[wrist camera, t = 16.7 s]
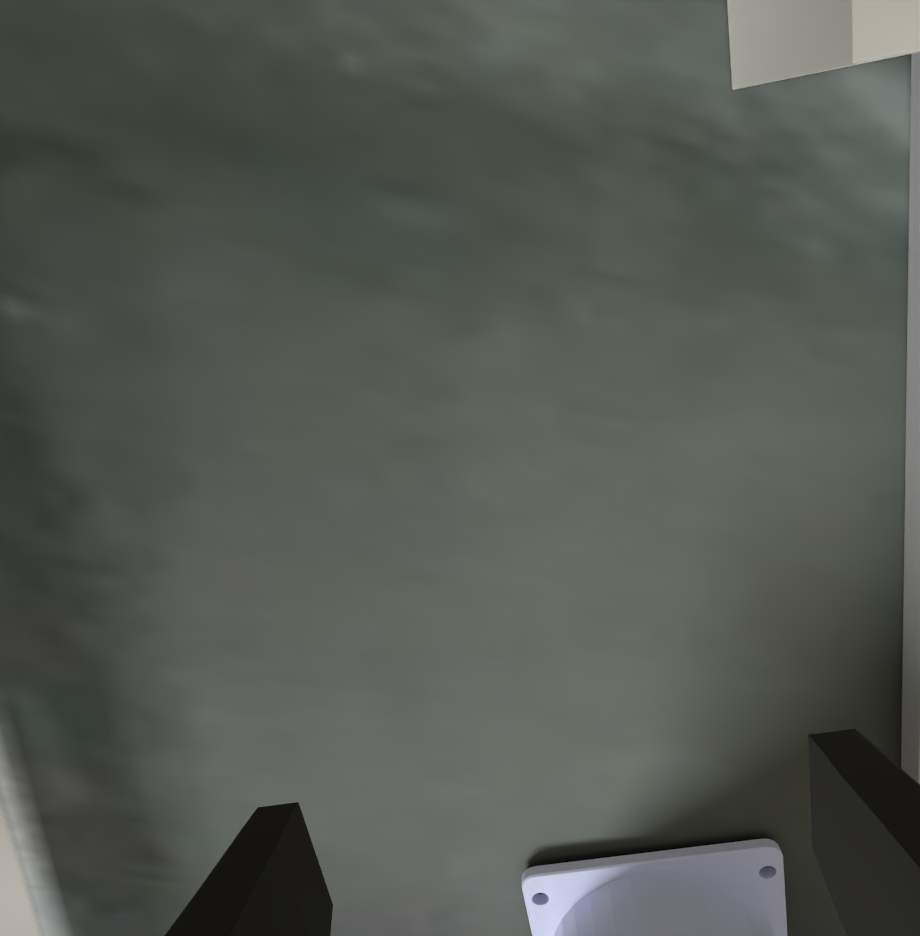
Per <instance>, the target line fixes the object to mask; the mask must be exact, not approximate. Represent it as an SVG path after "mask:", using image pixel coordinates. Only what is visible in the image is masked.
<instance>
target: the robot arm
mask: <svg viewBox="0 0 920 936" xmlns="http://www.w3.org/2000/svg"><path fill="white" fill-rule="evenodd" d="M809 760H810V787H811V813H812V840H813V849H814V852H815V855H816V857H817V860H818V863H819V865H820V868H821V871H822V873H823V876H824V879H825V881H826V884H827V886H828V889H829V892H830V894H831V897H832V899H833V902H834V904H835V907H836V909H837V912H838V914H839V917H840V919H841V922H842V924H843V926H844V928H845V930H846V932H847V934H848V936H920V784H919V783H918V782H917V781H915V780H914V779H913V778H912V777H911V776H910V775H908V774H907V773H906V772H905V771H904V770H903V769H901V768H900V767H899V766H898V765H897V764H896V763H895V762H893V761H892V760H891V759H890V758H889V757H888V756H886V755H885V754H884V753H883V752H882V751H881V750H880V749H878V748H877V747H876V746H875V745H874V744H873V743H872V742H870V741H869V740H868V739H867V738H866V737H865V736H864V735H862V734H861V733H860V732H858V731H857V730H855V729H850V730H842V731H835V732H827V733H820V734H812V735H809ZM765 866H768V867H765ZM763 867H765V868H763ZM522 890H523V895H524V899H525V904H526V909H527V913H528V918H529V922H530V927H531V931H532V936H788V935H787V917H786V900H785V882H784V864H783V855H782V852H781V850H780V848H779V845H778V844H777V843H776V842H775V841H773V840H771V839H755V840H746V841H738V842H730V843H722V844H713V845H705V846H697V847H689V848H680V849H672V850H664V851H656V852H647V853H639V854H631V855H623V856H614V857H606V858H598V859H590V860H581V861H573V862H565V863H557V864H548V865H540V866H534V867H530V868H528V869H527V870H525V871H524V873H523V874H522ZM537 893H543V894H537ZM332 909H333V904H332V901H331V898H330V895H329V892H328V889H327V886H326V883H325V880H324V877H323V874H322V871H321V868H320V865H319V862H318V859H317V856H316V854H315V851H314V848H313V845H312V842H311V839H310V836H309V833H308V830H307V827H306V824H305V821H304V818H303V815H302V812H301V809H300V806H299V803H298V802H296V803H289V804H281V805H274V806H266V807H259V808H257V809H256V811H255V812H254V813H253V815H252V816H251V817H250V819H249V820H248V821H247V823H246V824H245V825H244V827H243V828H242V830H241V831H240V832H239V834H238V835H237V837H236V838H235V839H234V841H233V842H232V844H231V845H230V846H229V848H228V849H227V851H226V852H225V853H224V855H223V856H222V858H221V859H220V860H219V862H218V863H217V865H216V866H215V867H214V869H213V870H212V872H211V873H210V874H209V876H208V877H207V879H206V880H205V881H204V883H203V884H202V886H201V887H200V888H199V890H198V891H197V893H196V894H195V895H194V897H193V898H192V899H191V901H190V902H189V903H188V905H187V906H186V907H185V909H184V910H183V912H182V913H181V914H180V916H179V917H178V918H177V920H176V921H175V922H174V924H173V925H172V926H171V928H170V929H169V930H168V932H167V933H166V934H165V936H330V932H331V920H332Z"/></svg>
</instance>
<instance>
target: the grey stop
mask: <svg viewBox="0 0 920 936" xmlns="http://www.w3.org/2000/svg"><path fill="white" fill-rule="evenodd" d="M727 8H728V25H729V42H730V59H731V75H732V90H735V89H740V88H745V87H750V86H755V85H760V84H765V83H770V82H775V81H780V80H785V79H789V78H794V77H799V76H804V75H809V74H814V73H819V72H824V71H829V70H834V69H839V68H843V67H848V66H853V65H858V64H863V63H868V62H873V61H878V60H883V59H888V58H893V57H897V56H902V55H907V54H911V118H910V187H909V256H908V325H907V394H906V463H905V532H904V601H903V670H902V739H901V769H903V770H904V771H905V772H906V773H907V774H908V775H910V776H911V777H912V778H913V779H914V780H915V781H917V782H918V783H919V784H920V0H727Z"/></svg>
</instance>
